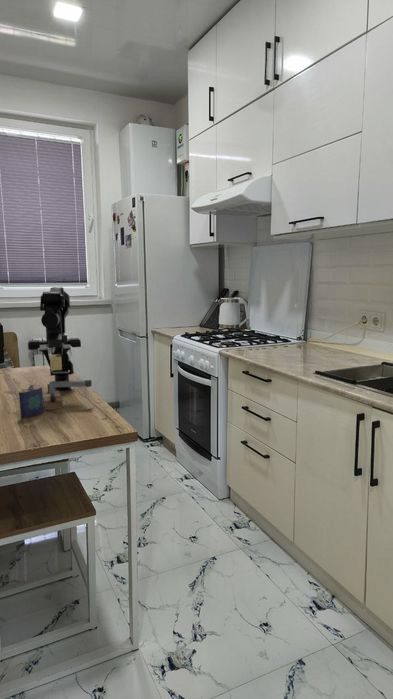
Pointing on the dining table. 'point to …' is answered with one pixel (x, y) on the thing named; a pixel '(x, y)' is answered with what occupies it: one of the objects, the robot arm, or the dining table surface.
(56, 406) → the plane body
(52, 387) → the lever
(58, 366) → the light wooden cube
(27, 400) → the flask
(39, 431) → the dining table surface
